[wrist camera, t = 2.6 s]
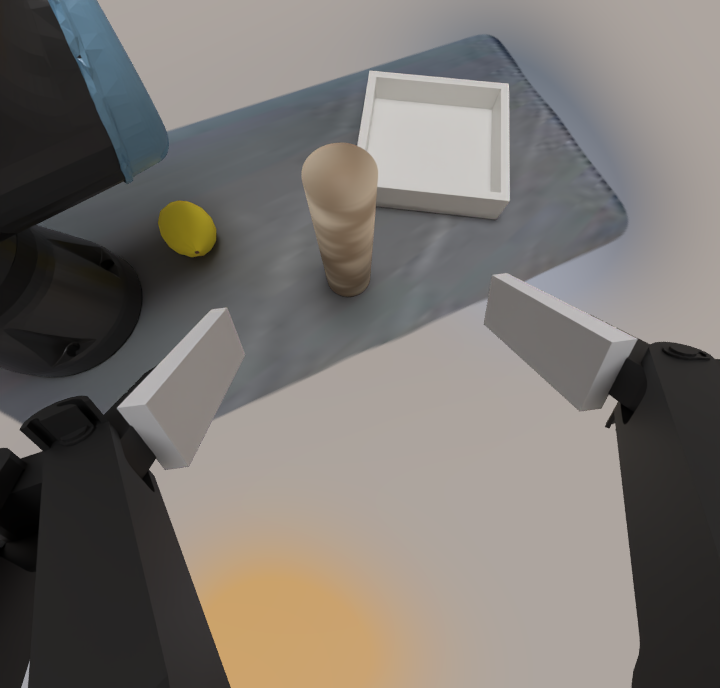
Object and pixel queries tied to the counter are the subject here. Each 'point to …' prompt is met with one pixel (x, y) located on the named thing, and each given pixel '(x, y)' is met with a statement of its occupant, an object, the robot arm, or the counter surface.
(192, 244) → the lemon
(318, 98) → the counter surface
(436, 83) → the tray
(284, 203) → the counter surface
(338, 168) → the dowel
